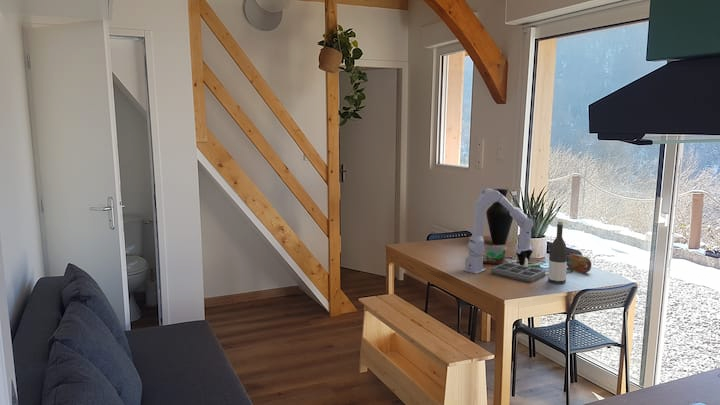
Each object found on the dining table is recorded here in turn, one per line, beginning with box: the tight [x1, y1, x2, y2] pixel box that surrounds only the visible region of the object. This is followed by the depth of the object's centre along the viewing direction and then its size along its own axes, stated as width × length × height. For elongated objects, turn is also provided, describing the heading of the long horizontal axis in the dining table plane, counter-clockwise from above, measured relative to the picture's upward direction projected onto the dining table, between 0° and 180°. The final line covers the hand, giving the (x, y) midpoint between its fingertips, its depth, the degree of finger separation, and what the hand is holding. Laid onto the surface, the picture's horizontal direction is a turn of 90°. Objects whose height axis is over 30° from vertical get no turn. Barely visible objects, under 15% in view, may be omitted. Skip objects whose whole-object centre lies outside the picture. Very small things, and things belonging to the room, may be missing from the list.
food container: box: [484, 244, 508, 265], centre depth 281 cm, size 12×6×10 cm, turn 62°
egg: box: [521, 258, 529, 267], centre depth 272 cm, size 4×4×6 cm
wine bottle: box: [547, 220, 568, 285], centre depth 246 cm, size 8×8×30 cm
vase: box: [485, 188, 514, 246], centre depth 325 cm, size 17×17×35 cm
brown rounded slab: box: [567, 253, 592, 274], centre depth 266 cm, size 15×3×8 cm, turn 23°
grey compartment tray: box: [490, 262, 546, 284], centre depth 259 cm, size 15×22×3 cm
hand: (523, 264), depth 272 cm, fingers closed on egg, 4 cm apart
